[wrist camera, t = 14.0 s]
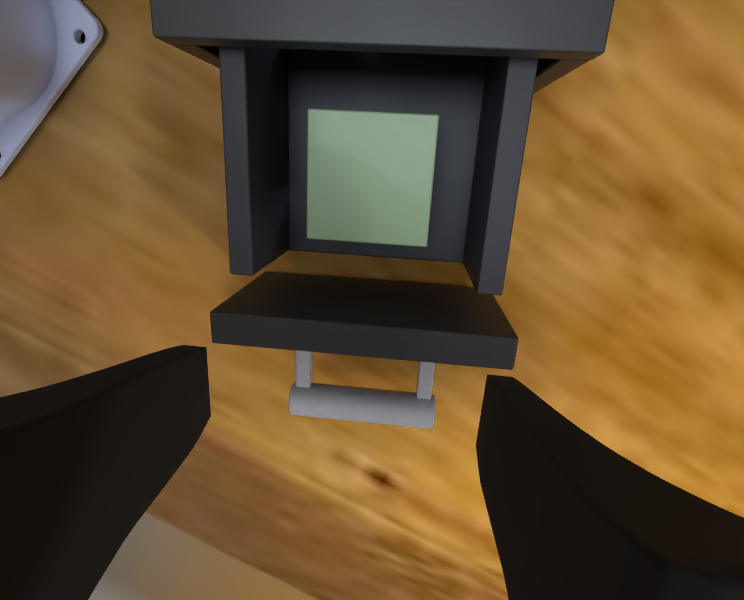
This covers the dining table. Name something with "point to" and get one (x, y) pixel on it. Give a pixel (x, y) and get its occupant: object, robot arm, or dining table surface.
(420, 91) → the pull-out drawer
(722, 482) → the dining table surface
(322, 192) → the block
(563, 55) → the black drawer box
